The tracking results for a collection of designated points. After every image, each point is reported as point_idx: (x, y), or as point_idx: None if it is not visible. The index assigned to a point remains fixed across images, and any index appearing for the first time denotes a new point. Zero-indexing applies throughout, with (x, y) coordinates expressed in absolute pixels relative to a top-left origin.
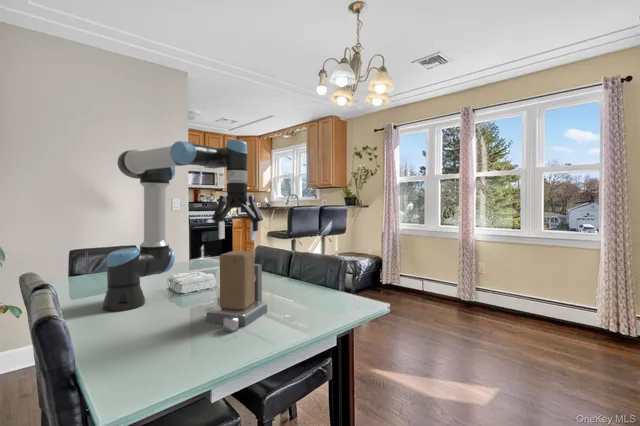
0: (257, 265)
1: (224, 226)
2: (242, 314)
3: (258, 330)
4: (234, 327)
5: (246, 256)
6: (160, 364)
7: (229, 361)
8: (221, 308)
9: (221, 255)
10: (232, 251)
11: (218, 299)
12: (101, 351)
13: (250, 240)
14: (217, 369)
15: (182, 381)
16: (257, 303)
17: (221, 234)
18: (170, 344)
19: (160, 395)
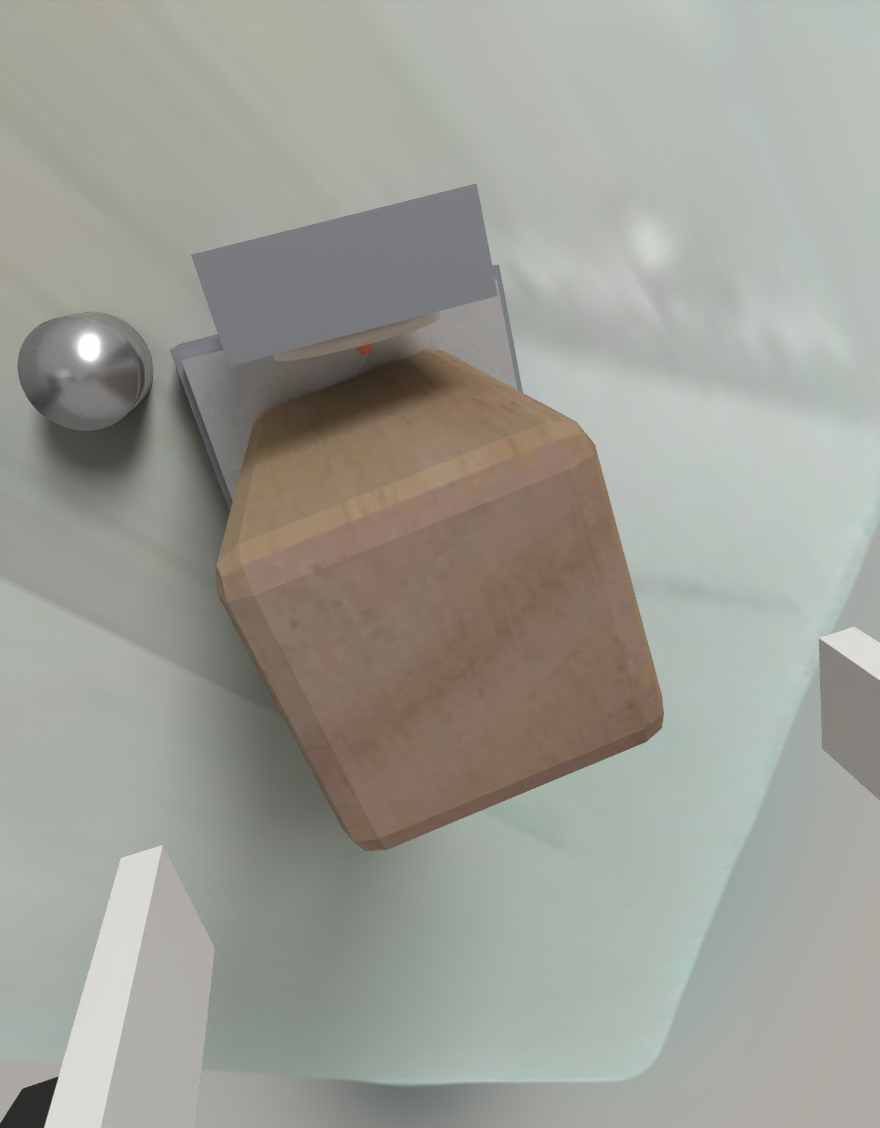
0: (477, 280)
1: (106, 1112)
2: None
3: (634, 538)
4: None
5: (652, 664)
6: (520, 933)
7: (714, 793)
8: None
9: (388, 846)
10: (293, 627)
11: (85, 429)
12: (232, 1023)
13: (825, 749)
14: (713, 842)
15: (669, 929)
16: (467, 345)
17: (194, 1005)
18: (399, 856)
19: (671, 984)
